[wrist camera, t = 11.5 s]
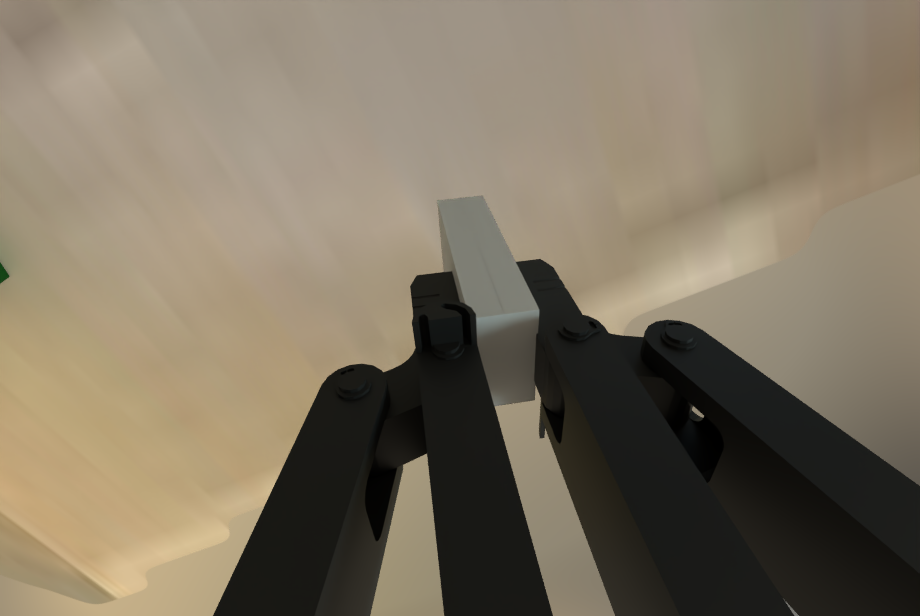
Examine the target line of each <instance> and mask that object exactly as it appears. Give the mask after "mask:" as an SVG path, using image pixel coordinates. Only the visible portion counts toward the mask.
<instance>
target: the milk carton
mask: <svg viewBox="0 0 920 616" xmlns="http://www.w3.org/2000/svg"><path fill="white" fill-rule="evenodd" d="M8 277H9V275H8V273H7V272H6V270H5V269H4V267H3V266H2V264H1V263H0V283H2V282H3V281H4V280H6V279H7V278H8Z"/></svg>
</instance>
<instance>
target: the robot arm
mask: <svg viewBox="0 0 920 616" xmlns="http://www.w3.org/2000/svg"><path fill="white" fill-rule="evenodd" d="M437 204H438V215H439V226H440V237H441V248H442V259H443V270H444V272H441V273H433V274H425V275H417V276H416V278H415V279H414V281H413V283H412V284H411V286H410V288H411V297H412V307H413V320H412V326H413V333H414V340H415V346H416V348H415V351H414V353H413V355H412V356H411V357H410V358H409V359H408V360H407V361H406V362H404V363H403V364H402V365H400V366H398V367H396V368H394V369H391V370H389V371H386V372H382V370H380V369H378V368H376V367H375V366H373V365H367V364H355V365H349V366H346V367H344V368H341V369H338V370H337V371H335V372H334V373H332V374H331V375H330V376H328V377H327V379H326V380H325V381H324V383H323V384H322V385H321V388H320V390H319V392H318V394H317V396H316V398H315V400H314V402H313V405H312V407H311V409H310V411H309V413H308V415H307V417H306V419H305V421H304V424H303V426H302V428H301V430H300V432H299V434H298V436H297V438H296V441H295V443H294V445H293V447H292V449H291V451H290V453H289V455H288V458H287V460H286V462H285V464H284V466H283V468H282V470H281V472H280V475H279V477H278V479H277V481H276V483H275V485H274V487H273V489H272V492H271V494H270V496H269V498H268V500H267V502H266V504H265V506H264V509H263V511H262V513H261V515H260V517H259V519H258V521H257V523H256V526H255V528H254V530H253V532H252V534H251V536H250V538H249V540H248V543H247V545H246V547H245V549H244V551H243V553H242V555H241V557H240V560H239V562H238V564H237V566H236V568H235V570H234V572H233V574H232V577H231V579H230V581H229V583H228V585H227V587H226V589H225V591H224V593H223V596H222V598H221V600H220V602H219V604H218V606H217V609H216V611H215V613H214V615H213V616H370V614H371V609H372V604H373V600H374V596H375V591H376V587H377V582H378V578H379V574H380V569H381V565H382V560H383V556H384V551H385V547H386V542H387V538H388V534H389V529H390V525H391V520H392V516H393V511H394V507H395V503H396V498H397V493H398V489H399V485H400V480H401V475H402V471H403V464H406V463H408V462H410V461H412V460H414V459H416V458H418V457H420V456H423V455H424V454H427V457H428V466H429V476H430V485H431V494H432V504H433V513H434V523H435V531H436V541H437V551H438V560H439V570H440V578H441V588H442V598H443V606H444V616H553V615H552V611H551V608H550V604H549V600H548V597H547V593H546V589H545V586H544V582H543V579H542V575H541V572H540V568H539V564H538V561H537V557H536V554H535V550H534V546H533V543H532V539H531V536H530V532H529V529H528V525H527V521H526V518H525V514H524V511H523V507H522V504H521V500H520V496H519V493H518V489H517V485H516V482H515V478H514V475H513V471H512V468H511V464H510V461H509V457H508V453H507V450H506V446H505V442H504V439H503V435H502V432H501V428H500V424H499V421H498V417H497V414H496V410H495V406H499V405H506V404H512V403H519V402H525V401H532V400H535V386H536V387H537V389H538V392H539V394H540V397H541V407H540V423H539V435H540V438H544V435H545V429H546V431H547V434H548V437H549V439H550V442H551V444H552V447H553V450H554V453H555V455H556V458H557V461H558V463H559V466H560V469H561V471H562V474H563V477H564V479H565V482H566V485H567V488H568V490H569V493H570V496H571V498H572V501H573V504H574V506H575V509H576V512H577V514H578V517H579V520H580V522H581V525H582V528H583V530H584V533H585V536H586V539H587V541H588V544H589V547H590V549H591V552H592V554H593V557H594V560H595V562H596V565H597V568H598V571H599V573H600V576H601V579H602V581H603V584H604V587H605V590H606V592H607V595H608V597H609V600H610V603H611V606H612V608H613V611H614V613H615V616H794V615H793V613H792V612H791V610H790V608H789V607H788V605H787V604H786V603H785V601H786V602H787V603H788V604H789V605H790V606H791V607H792V608H793V610H794V611H795V612H796V613H797V614H798V615H799V616H920V486H919V485H918V484H916V483H915V482H913V481H912V480H911V479H909V478H908V477H906V476H905V475H904V474H902V473H901V472H899V471H898V470H897V469H895V468H894V467H892V466H891V465H890V464H888V463H887V462H886V461H884V460H883V459H881V458H880V457H879V456H877V455H876V454H874V453H873V452H872V451H870V450H869V449H867V448H866V447H865V446H863V445H862V444H860V443H859V442H858V441H856V440H855V439H853V438H852V437H851V436H849V435H848V434H846V433H845V432H843V431H842V430H841V429H839V428H838V427H837V426H835V425H834V424H833V423H831V422H829V421H828V420H827V419H826V418H824V417H823V416H821V415H820V414H819V413H817V412H816V411H814V410H813V409H812V408H810V407H809V406H807V405H806V404H805V403H803V402H802V401H800V400H799V399H798V398H796V397H795V396H793V395H792V394H791V393H789V392H788V391H787V390H785V389H784V388H782V387H781V386H780V385H778V384H777V383H775V382H774V381H773V380H771V379H770V378H768V377H767V376H766V375H764V374H763V373H761V372H760V371H759V370H757V369H756V368H754V367H753V366H752V365H750V364H749V363H747V362H746V361H744V360H743V359H742V358H741V357H739V356H738V355H736V354H735V353H734V352H732V351H731V350H729V349H728V348H727V347H725V346H724V345H722V344H721V343H720V342H718V341H717V340H715V339H714V338H713V337H711V336H709V334H707V333H706V332H704V331H703V330H701V329H699V328H697V327H696V326H694V325H692V324H688V323H685V322H681V321H674V320H664V321H658V322H655V323H653V324H651V325H649V326H648V328H647V329H646V331H645V334H644V337H633V336H621V335H615V334H610V333H608V332H607V330H606V329H605V327H604V326H603V325H602V324H601V323H600V322H599V321H597V320H595V319H593V318H591V317H589V316H586V315H582V313H581V311H580V310H579V308H578V307H577V305H576V303H575V302H574V300H573V299H572V297H571V295H570V294H569V292H568V291H567V289H566V288H565V286H564V284H563V282H562V281H561V279H559V276H558V274H557V273H556V271H555V270H554V268H553V267H552V266H550V265H549V264H547V263H546V262H544V261H543V260H541V259H536V260H528V261H520V262H515V260H514V258H513V255H512V253H511V251H510V249H509V247H508V245H507V243H506V241H505V239H504V237H503V235H502V233H501V231H500V229H499V227H498V225H497V223H496V221H495V219H494V217H493V215H492V213H491V211H490V209H489V207H488V205H487V203H486V201H485V199H484V197H483V196H474V197H465V198H456V199H447V200H437ZM693 406H694V407H695V408H696V409H698V410H699V411H700V412H701V413H702V414H703V415H704V418H702V417H700V416H698V415H697V414H695V413H694V412H693V411H692V407H693ZM782 597H783V598H782ZM784 600H785V601H784Z"/></svg>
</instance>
